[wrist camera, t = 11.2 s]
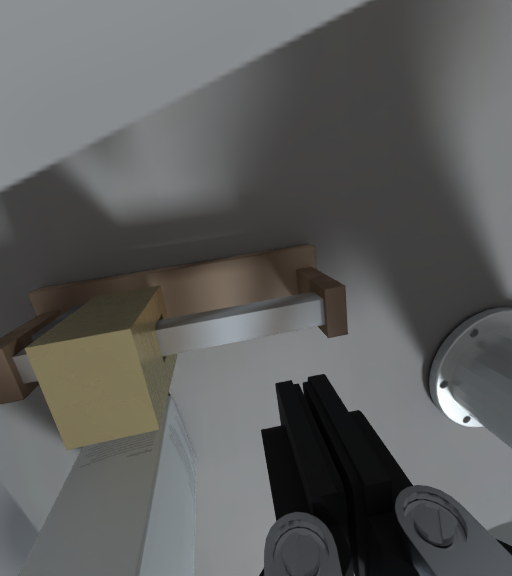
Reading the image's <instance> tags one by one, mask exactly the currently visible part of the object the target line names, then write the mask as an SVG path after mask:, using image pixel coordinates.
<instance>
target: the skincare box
mask: <svg viewBox="0 0 512 576" xmlns="http://www.w3.org/2000/svg"><path fill="white" fill-rule="evenodd" d="M196 480H197V460H196V458H195V455H194V452H193V450H192V447H191V445H190V442H189V439H188V437H187V434H186V432H185V429H184V427H183V424H182V422H181V419H180V417H179V414H178V411H177V409H176V407H175V404H174V402H173V399H172V397H171V396H167V400H166V404H165V408H164V413H163V417H162V421H161V425H160V429H159V430H155V431H150V432H146V433H141V434H137V435H132V436H128V437H123V438H119V439H114V440H110V441H105V442H101V443H96V444H92V445H87V446H83V448H82V449H81V451H80V454H79V456H78V458H77V459H76V462H75V464H74V466H73V468H72V470H71V472H70V474H69V476H68V478H67V479H66V481H65V483H64V485H63V488H62V489H61V491H60V493H59V495H58V497H57V499H56V501H55V503H54V505H53V507H52V509H51V511H50V513H49V515H48V517H47V519H46V521H45V523H44V525H43V527H42V529H41V531H40V533H39V535H38V537H37V539H36V541H35V543H34V545H33V547H32V549H31V551H30V553H29V555H28V557H27V559H26V561H25V563H24V565H23V567H22V569H21V571H20V573H19V575H18V576H194V553H195V513H196Z"/></svg>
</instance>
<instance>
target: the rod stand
mask: <svg viewBox="0 0 512 576" xmlns="http://www.w3.org/2000/svg"><path fill="white" fill-rule="evenodd" d="M158 285H161V289H162V293H163V297H164V301H165V305H166V309H167V314H168V318H167V319H162V320H158V322H157V324H156V326H155V330H156V333H157V337H158V341H159V345H160V349H161V352H162V356H167V355H172V354H177V353H183V352H188V351H193V350H198V349H203V348H208V347H213V346H218V345H223V344H228V343H234V342H239V341H244V340H249V339H254V338H259V337H264V336H269V335H274V334H279V333H284V332H290V331H295V330H300V329H305V328H310V327H315V326H318V327H319V328H320V329H321V330H322V332H323V333H324V334H325V335H326V336H327V337H328V338H331V337H336V336H341V335H346V334H348V329H347V310H346V292H345V285H343V284H341V283H339V282H338V281H336V280H334V279H332V278H330V277H329V276H327V275H325V274H323V273H322V272H320V271H318V270H317V266H316V254H315V246H313V245H310V244H304V245H298V246H292V247H286V248H280V249H274V250H268V251H262V252H256V253H250V254H243V255H237V256H231V257H225V258H219V259H213V260H207V261H201V262H195V263H189V264H183V265H177V266H171V267H164V268H158V269H152V270H146V271H140V272H134V273H128V274H122V275H116V276H110V277H104V278H98V279H92V280H85V281H79V282H73V283H67V284H61V285H55V286H49V287H43V288H39V289H37V290H35V291H33V292H30V293H28V296H29V298H30V301H31V304H32V306H33V309H34V311H35V314H36V317H35V318H33V319H32V320H30V321H28V322H27V323H25V324H24V325H22V326H20V327H19V328H17V329H15V330H14V331H12V332H10V333H9V334H7V335H5V336H4V337H2V338H0V404H4V403H9V402H14V401H19V400H24V399H25V398H26V397H27V396H28V395H29V394H30V393H31V392H32V391H33V390H34V389H35V388H36V387H37V386H38V385H39V382H38V380H37V377H36V375H35V372H34V370H33V368H32V365H31V363H30V360H29V358H28V356H27V353H26V351H25V348H26V347H27V346H28V345H30V344H31V343H32V342H34V341H35V340H36V339H38V338H39V337H41V336H42V335H43V334H45V333H46V332H47V331H49V330H50V329H51V328H53V327H54V326H56V325H57V324H58V323H60V322H61V321H62V320H64V319H65V318H66V317H68V316H69V315H71V314H72V313H73V312H75V311H76V310H77V309H79V308H80V307H81V306H83V305H84V304H85V303H87V302H88V301H90V300H91V299H92V298H94V297H95V296H100V295H106V294H111V293H117V292H123V291H129V290H135V289H141V288H147V287H152V286H158Z"/></svg>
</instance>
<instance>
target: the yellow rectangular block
mask: <svg viewBox="0 0 512 576" xmlns="http://www.w3.org/2000/svg"><path fill="white" fill-rule="evenodd" d="M167 318H168V314H167V309H166V305H165V301H164V297H163V293H162V289H161V285H158V286H152V287H147V288H141V289H135V290H129V291H123V292H117V293H111V294H106V295H100V296H95V297H94V298H92V299H91V300H90V301H88V302H87V303H85V304H84V305H83V306H81V307H80V308H79V309H77V310H76V311H75V312H73V313H72V314H71V315H69V316H68V317H66V318H65V319H64V320H62V321H61V322H60V323H58V324H57V325H56V326H54V327H53V328H51V329H50V330H49V331H47V332H46V333H45V334H43V335H42V336H41V337H39V338H38V339H36V340H35V341H34V342H32V343H31V344H30V345H28V346H27V347H26V348H25V351H26V353H27V356H28V358H29V360H30V363H31V365H32V368H33V370H34V372H35V375H36V377H37V380H38V382H39V385H40V387H41V389H42V392H43V394H44V397H45V399H46V402H47V404H48V406H49V409H50V411H51V414H52V416H53V418H54V421H55V423H56V426H57V428H58V431H59V433H60V435H61V438H62V440H63V443H64V445H65V447H66V450H69V449H74V448H78V447H83V446H87V445H92V444H96V443H101V442H105V441H110V440H114V439H119V438H123V437H128V436H132V435H137V434H141V433H146V432H150V431H155V430H159V429H160V425H161V421H162V417H163V413H164V408H165V404H166V400H167V396H168V392H169V388H170V384H171V379H172V375H173V371H174V367H175V363H176V359H177V355H178V354H172V355H167V356H162V352H161V349H160V345H159V341H158V337H157V333H156V330H155V326H156V324H157V322H158V320H162V319H167Z"/></svg>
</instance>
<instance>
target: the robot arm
mask: <svg viewBox="0 0 512 576" xmlns="http://www.w3.org/2000/svg"><path fill="white" fill-rule="evenodd" d="M429 387H430V394H431V397H432V399H433V402H434V404H435V405H436V406H437V408H438V409H439V410H440V411H441V412H442V413H443V414H444V415H445V416H446V417H447V418H449V419H450V420H452V421H453V422H455V423H457V424H460V425H462V426H469V427H481V426H484V427H485V428H487V429H488V430H489V431H491V432H492V433H493V434H494V435H496V436H497V437H498V438H499V439H501V440H502V441H503V442H504V443H506V444H507V445H508V446H509V447H511V448H512V308H510V307H506V308H494V309H489V310H486V311H484V312H481V313H478V314H476V315H474V316H473V317H471V318H469V319H468V320H466V321H464V322H463V323H462V324H461V325H459V326H458V327H457V328H456V329H455V330H454V331H453V332H452V333H451V334H450V335H449V336H448V337H447V338H446V339H445V341H444V342H443V344H442V345H441V347H440V348H439V350H438V352H437V354H436V356H435V358H434V360H433V364H432V367H431V371H430V379H429ZM303 391H304V394H303V392H302V390H301V387H300V385H299V384H293V382H292V381H291V380H290V381H285V382H279V383H276V393H277V400H278V407H279V414H280V421H281V426H277V427H273V428H268V429H263V430H261V433H262V439H263V445H264V451H265V457H266V463H267V469H268V475H269V481H270V486H271V492H272V498H273V504H274V510H275V516H276V522H275V524H274V525H273V526H272V527H271V529H270V531H269V533H268V535H267V538H266V543H265V550H264V569H263V570H262V572H261V574H260V575H259V576H354V574H355V576H512V546H510V545H508V544H506V543H503V542H502V541H499V540H497V539H495V538H494V537H493V536H492V535H491V534H490V533H489V532H488V531H487V530H486V529H485V528H484V527H483V526H482V525H481V524H480V523H479V522H478V521H477V520H476V519H475V518H474V517H473V516H472V515H471V514H470V513H469V512H468V511H467V510H466V509H465V508H464V507H463V506H462V505H461V504H460V503H459V502H457V501H456V500H455V499H454V498H453V497H451V496H450V495H448V494H446V493H444V492H443V491H441V490H439V489H436V488H432V487H429V486H422V485H415V486H413V485H412V483H411V482H410V481H409V479H408V478H407V476H406V475H405V473H404V472H403V470H402V469H401V468H400V466H399V465H398V463H397V462H396V460H395V459H394V458H393V456H392V455H391V453H390V452H389V450H388V449H387V448H386V446H385V445H384V443H383V442H382V440H381V439H380V438H379V436H378V435H377V433H376V432H375V430H374V429H373V427H372V426H371V425H370V423H369V422H368V420H367V419H366V417H365V416H364V415H363V413H362V412H361V411H359V410H357V411H352V412H348V410H347V409H346V407H345V405H344V404H343V402H342V401H341V399H340V398H339V396H338V394H337V393H336V391H335V390H334V388H333V386H332V385H331V383H330V382H329V380H328V379H327V377H326V376H325V374H321V375H316V376H311V377H308V382H303Z"/></svg>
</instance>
